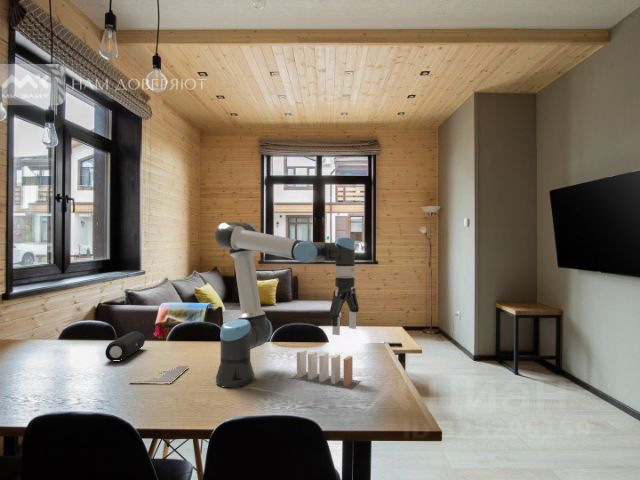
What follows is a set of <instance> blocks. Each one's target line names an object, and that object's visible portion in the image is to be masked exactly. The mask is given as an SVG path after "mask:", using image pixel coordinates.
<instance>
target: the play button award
mask: <svg viewBox="0 0 640 480" xmlns="http://www.w3.org/2000/svg"><path fill="white" fill-rule="evenodd" d="M177 366H178V367H176V369H175V368H174V370H173V368H172V370H171V371H170V370H169V371H163V373H166V372H167V373H166V374H165V375H163V376H162V377H161V378H159V379H157V378H154V377H153V379H151V380H147V381H144V382H171V381H172V380H173V379H174V378H176V377H177V376H178V375H179V374H180V373H181V372H183V371H184V370H185V369H186V368H187V367H189V365H177ZM159 374H162V372H161V373H160V372H159ZM138 382H139V381H138ZM140 382H141V381H140Z"/></svg>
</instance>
